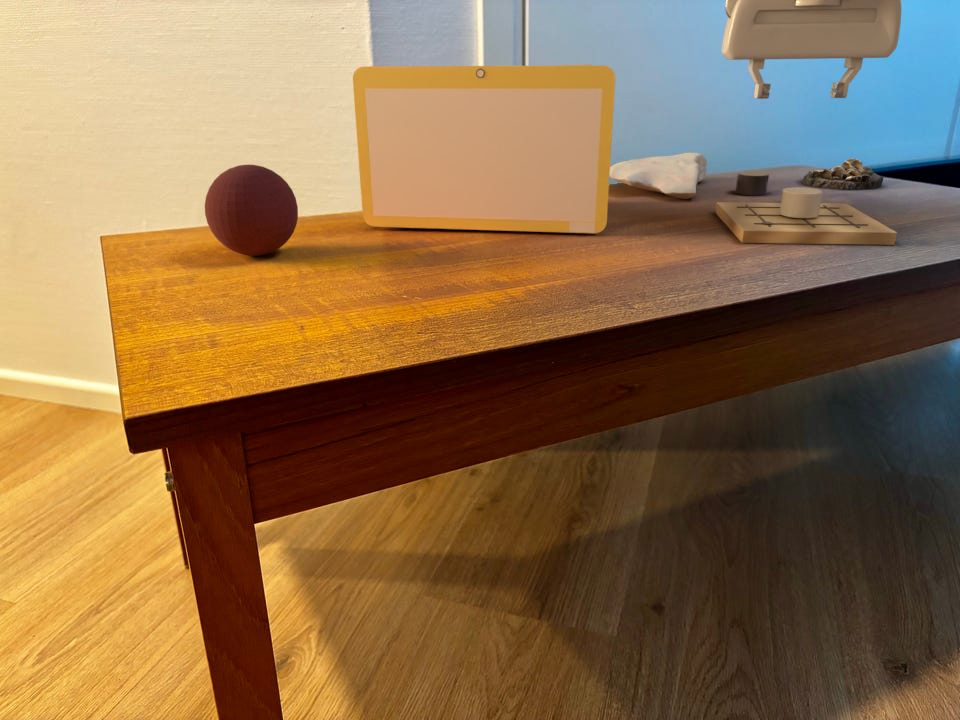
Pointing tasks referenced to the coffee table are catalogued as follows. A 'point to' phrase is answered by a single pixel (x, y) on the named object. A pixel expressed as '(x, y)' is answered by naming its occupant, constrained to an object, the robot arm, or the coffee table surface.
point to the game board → (803, 225)
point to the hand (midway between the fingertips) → (799, 98)
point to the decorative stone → (663, 173)
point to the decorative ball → (251, 210)
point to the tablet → (485, 146)
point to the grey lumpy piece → (844, 177)
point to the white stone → (800, 202)
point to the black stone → (752, 183)
